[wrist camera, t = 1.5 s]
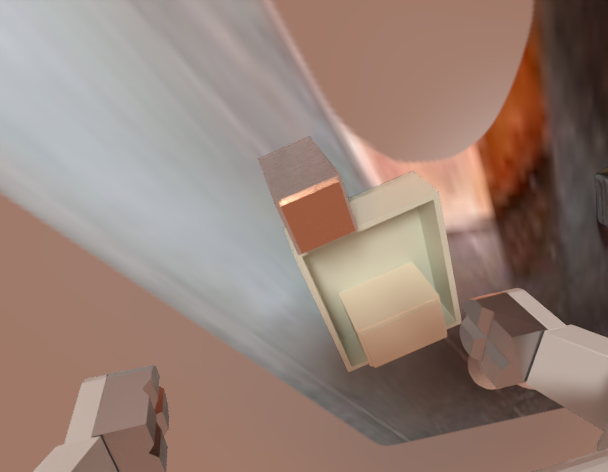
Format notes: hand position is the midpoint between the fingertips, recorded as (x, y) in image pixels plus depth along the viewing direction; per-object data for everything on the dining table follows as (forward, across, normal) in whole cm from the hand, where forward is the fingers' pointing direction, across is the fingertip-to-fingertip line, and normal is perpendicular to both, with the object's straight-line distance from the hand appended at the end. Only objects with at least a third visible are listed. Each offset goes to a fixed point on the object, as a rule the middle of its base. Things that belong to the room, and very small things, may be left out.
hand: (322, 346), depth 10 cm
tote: (+27, -13, +18) cm, 35 cm away
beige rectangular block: (+26, -14, +22) cm, 37 cm away
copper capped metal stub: (+27, -5, +6) cm, 28 cm away
